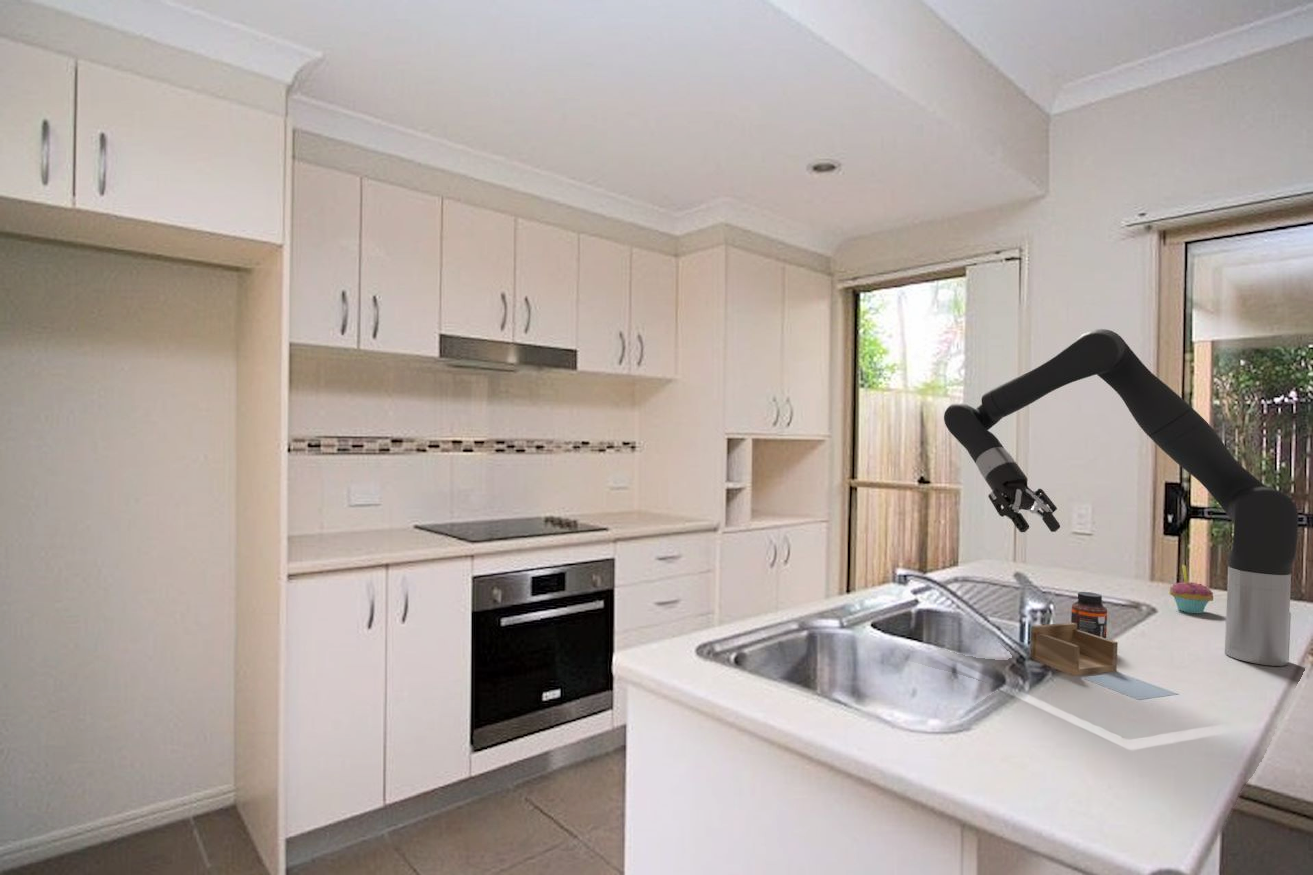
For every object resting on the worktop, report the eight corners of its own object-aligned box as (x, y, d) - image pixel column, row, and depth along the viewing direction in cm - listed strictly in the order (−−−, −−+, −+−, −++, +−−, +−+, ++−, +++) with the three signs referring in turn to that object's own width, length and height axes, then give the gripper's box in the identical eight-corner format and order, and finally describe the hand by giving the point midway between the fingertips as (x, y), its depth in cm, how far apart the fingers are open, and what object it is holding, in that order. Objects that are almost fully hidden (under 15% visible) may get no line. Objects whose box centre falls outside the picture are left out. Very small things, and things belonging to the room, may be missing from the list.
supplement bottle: (1111, 657, 132) (1113, 598, 132) (1077, 654, 134) (1079, 596, 133) (1098, 647, 138) (1100, 591, 138) (1065, 644, 139) (1067, 589, 139)
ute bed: (1070, 659, 130) (1072, 622, 130) (1116, 675, 122) (1117, 636, 122) (1030, 663, 127) (1031, 626, 127) (1073, 681, 119) (1075, 640, 119)
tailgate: (1119, 672, 121) (1178, 693, 111) (1119, 678, 121) (1178, 700, 111) (1081, 677, 118) (1138, 699, 109) (1080, 682, 118) (1138, 705, 109)
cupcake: (1180, 614, 166) (1182, 564, 166) (1161, 605, 175) (1163, 558, 175) (1220, 617, 165) (1222, 567, 165) (1199, 608, 173) (1201, 560, 173)
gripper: (985, 460, 152) (1026, 519, 142) (1035, 461, 157) (1078, 519, 146) (966, 482, 157) (1004, 540, 147) (1015, 482, 162) (1055, 539, 151)
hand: (1041, 529), depth 147 cm, fingers open, 8 cm apart
